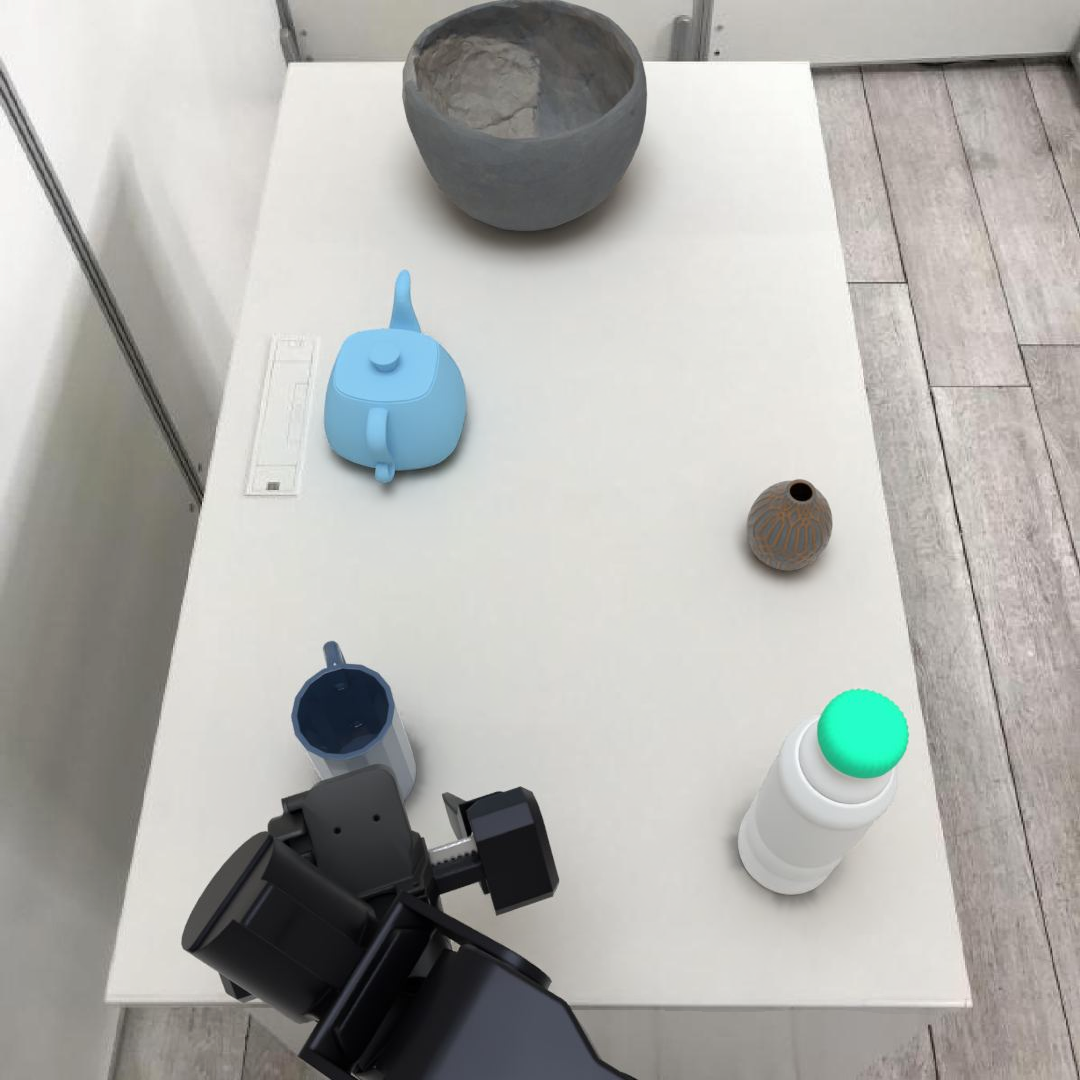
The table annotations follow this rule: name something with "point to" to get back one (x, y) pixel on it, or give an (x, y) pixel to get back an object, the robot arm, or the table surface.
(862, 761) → the water bottle
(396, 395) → the teapot
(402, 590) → the table surface
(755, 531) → the vase
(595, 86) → the bowl
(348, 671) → the mug
